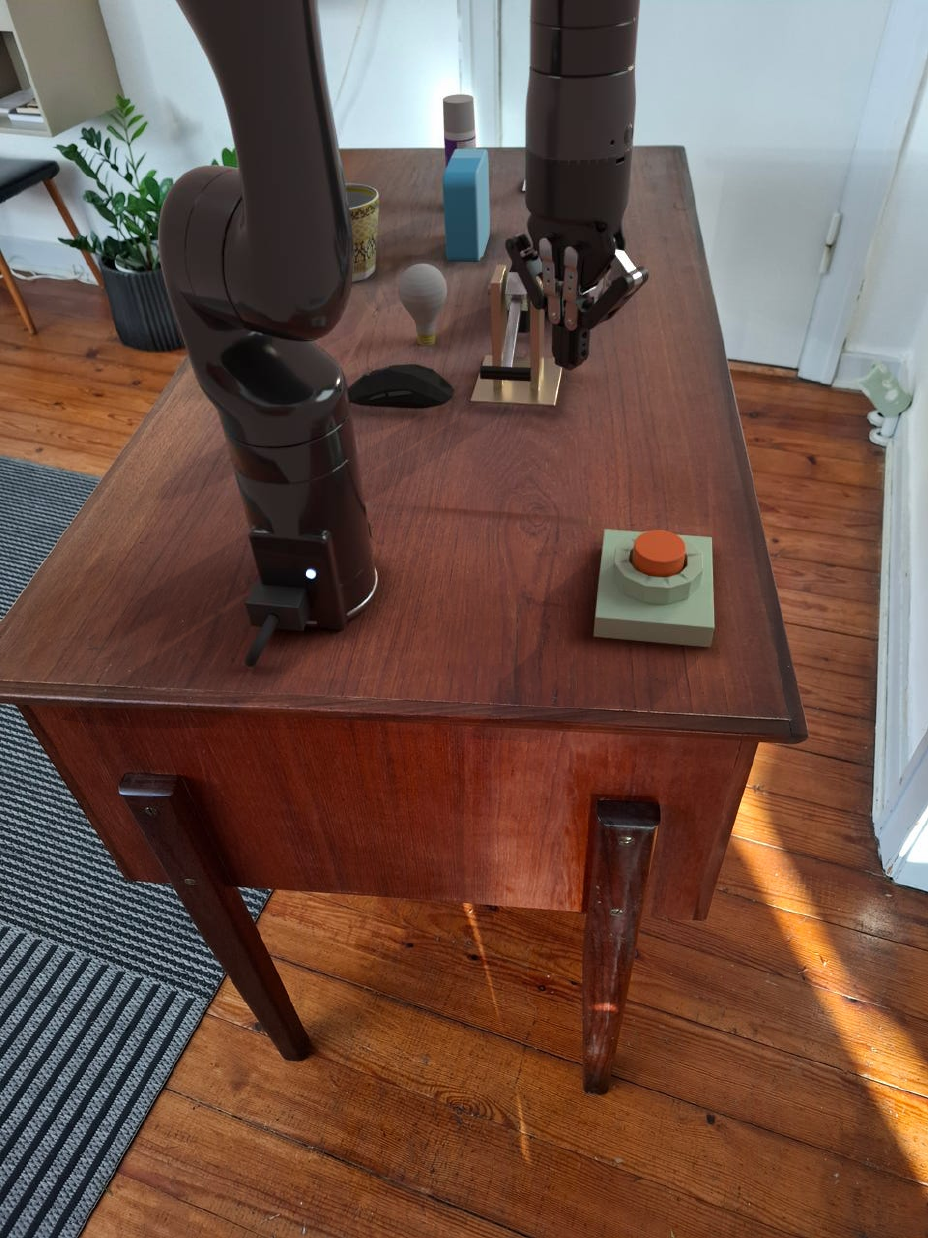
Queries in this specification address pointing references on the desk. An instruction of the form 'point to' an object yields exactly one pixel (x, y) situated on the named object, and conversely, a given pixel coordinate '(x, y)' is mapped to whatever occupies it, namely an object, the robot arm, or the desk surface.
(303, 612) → the robot arm
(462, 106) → the container
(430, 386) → the gaming mouse
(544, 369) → the bracket
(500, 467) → the desk surface
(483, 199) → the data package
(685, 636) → the button block
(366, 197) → the ceramic cup
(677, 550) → the button
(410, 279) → the light bulb
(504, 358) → the lever
